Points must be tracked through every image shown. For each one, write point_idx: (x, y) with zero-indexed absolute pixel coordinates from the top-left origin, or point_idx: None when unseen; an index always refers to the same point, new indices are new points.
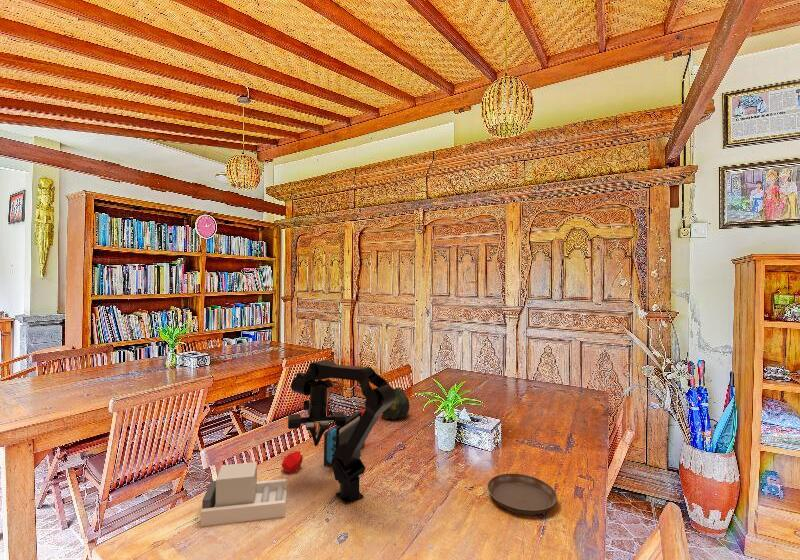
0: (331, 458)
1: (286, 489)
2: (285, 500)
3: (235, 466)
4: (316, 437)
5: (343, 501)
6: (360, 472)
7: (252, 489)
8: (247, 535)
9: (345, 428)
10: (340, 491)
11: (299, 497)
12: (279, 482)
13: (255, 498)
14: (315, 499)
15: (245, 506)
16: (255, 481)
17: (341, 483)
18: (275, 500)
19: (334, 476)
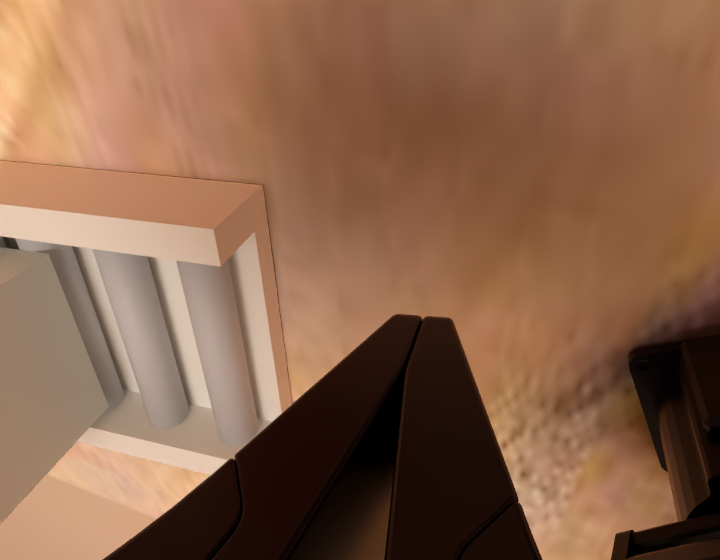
0: None
1: (250, 232)
2: (269, 349)
3: None
4: (399, 427)
5: (655, 448)
6: None
7: (40, 473)
8: (173, 468)
9: None
10: (661, 429)
11: (358, 288)
12: (170, 255)
13: (92, 272)
14: (467, 344)
15: (79, 440)
16: (8, 398)
17: (675, 508)
18: (209, 396)
19: (612, 552)
